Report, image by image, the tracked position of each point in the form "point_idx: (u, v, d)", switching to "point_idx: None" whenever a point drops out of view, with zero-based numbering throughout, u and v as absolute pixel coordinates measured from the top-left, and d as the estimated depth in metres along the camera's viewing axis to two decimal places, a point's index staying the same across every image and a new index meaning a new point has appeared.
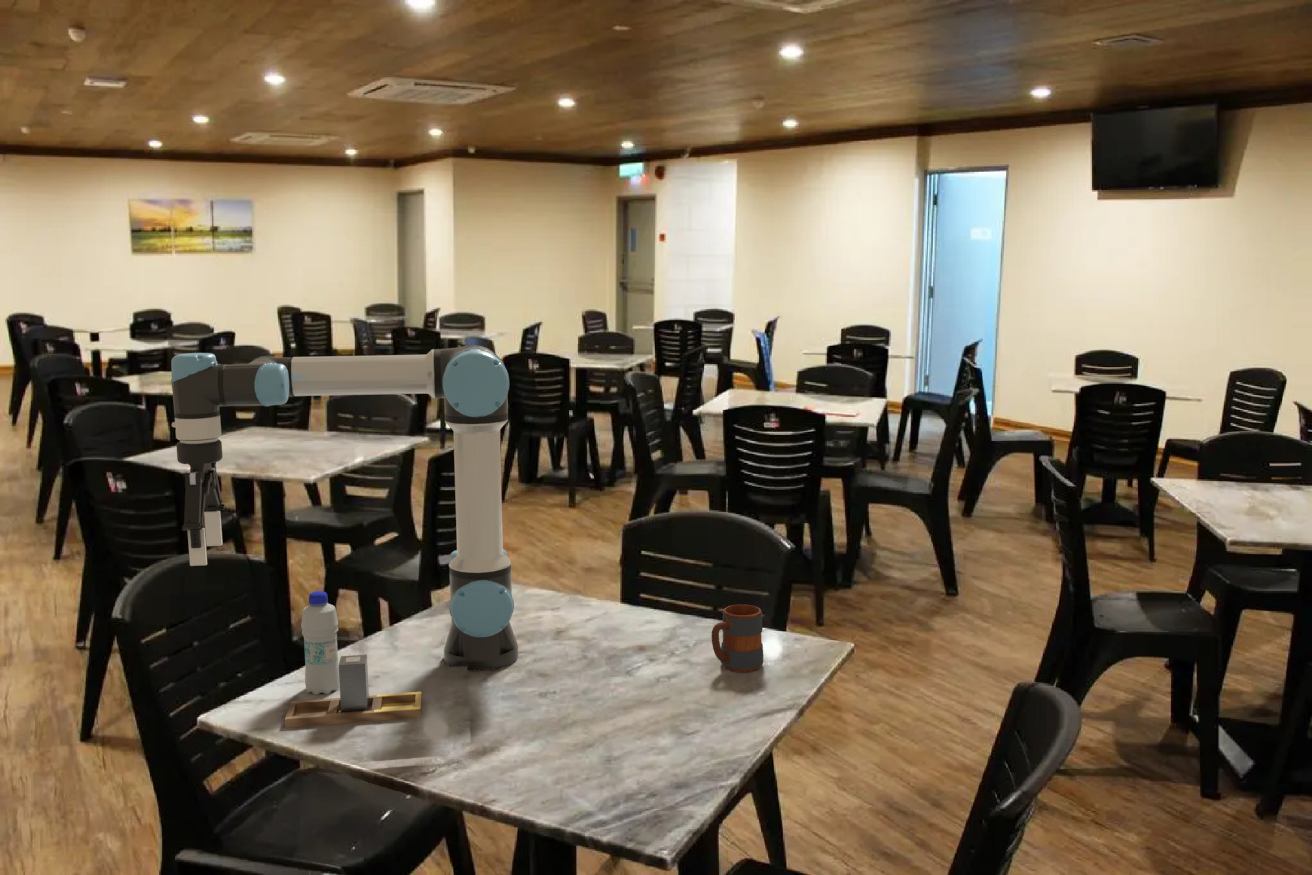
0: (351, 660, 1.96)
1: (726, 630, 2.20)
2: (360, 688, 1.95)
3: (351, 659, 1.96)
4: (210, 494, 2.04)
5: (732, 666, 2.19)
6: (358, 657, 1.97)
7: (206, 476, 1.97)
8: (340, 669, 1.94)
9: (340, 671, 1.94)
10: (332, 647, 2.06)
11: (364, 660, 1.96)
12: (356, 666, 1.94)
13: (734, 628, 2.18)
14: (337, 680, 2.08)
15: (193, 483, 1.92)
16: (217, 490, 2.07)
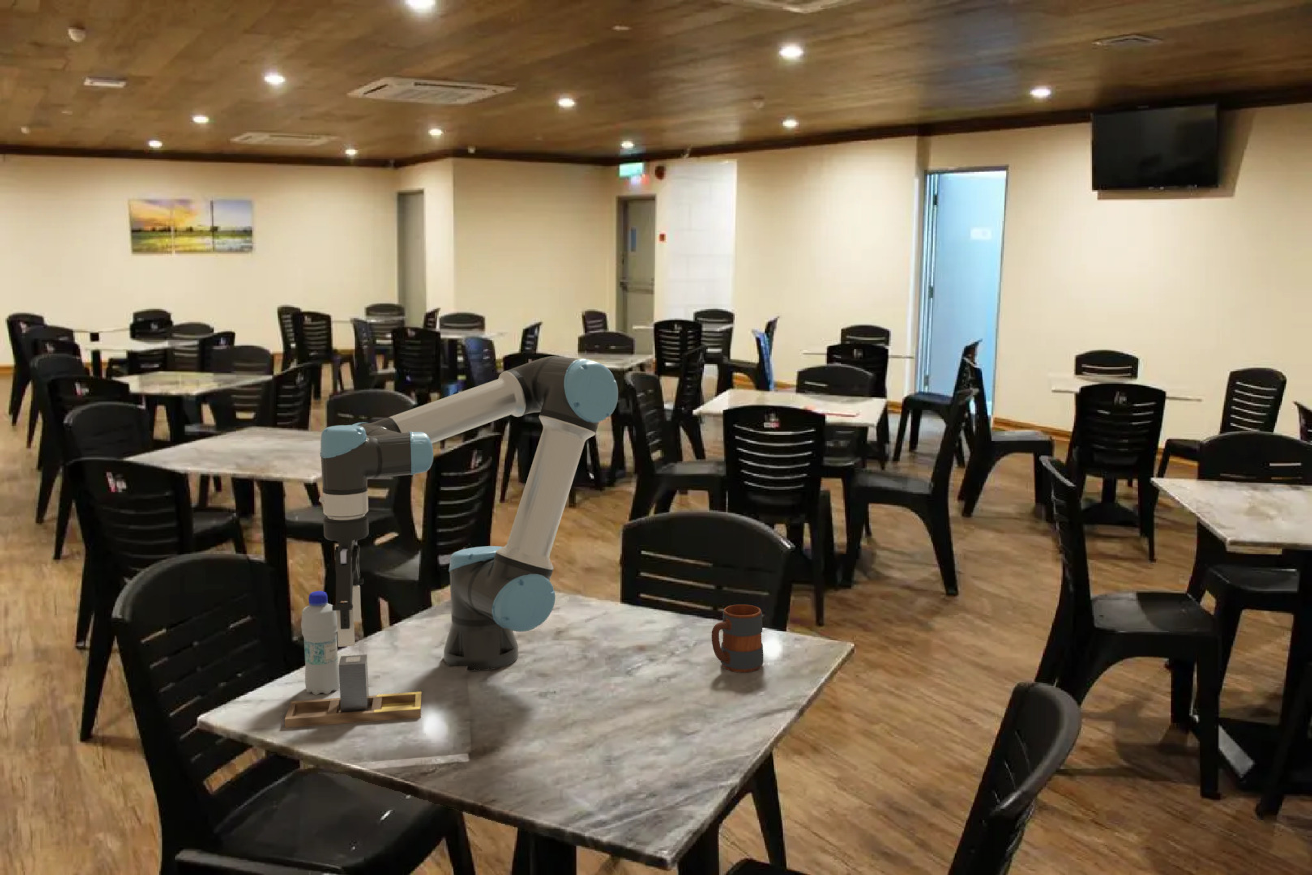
0: (351, 660, 1.96)
1: (726, 630, 2.20)
2: (360, 688, 1.95)
3: (351, 659, 1.96)
4: None
5: (732, 666, 2.19)
6: (358, 657, 1.97)
7: (353, 552, 1.91)
8: (340, 669, 1.94)
9: (340, 671, 1.94)
10: (331, 647, 2.06)
11: (364, 660, 1.96)
12: (356, 666, 1.94)
13: (734, 628, 2.18)
14: (337, 680, 2.08)
15: (344, 562, 1.86)
16: (357, 564, 2.01)
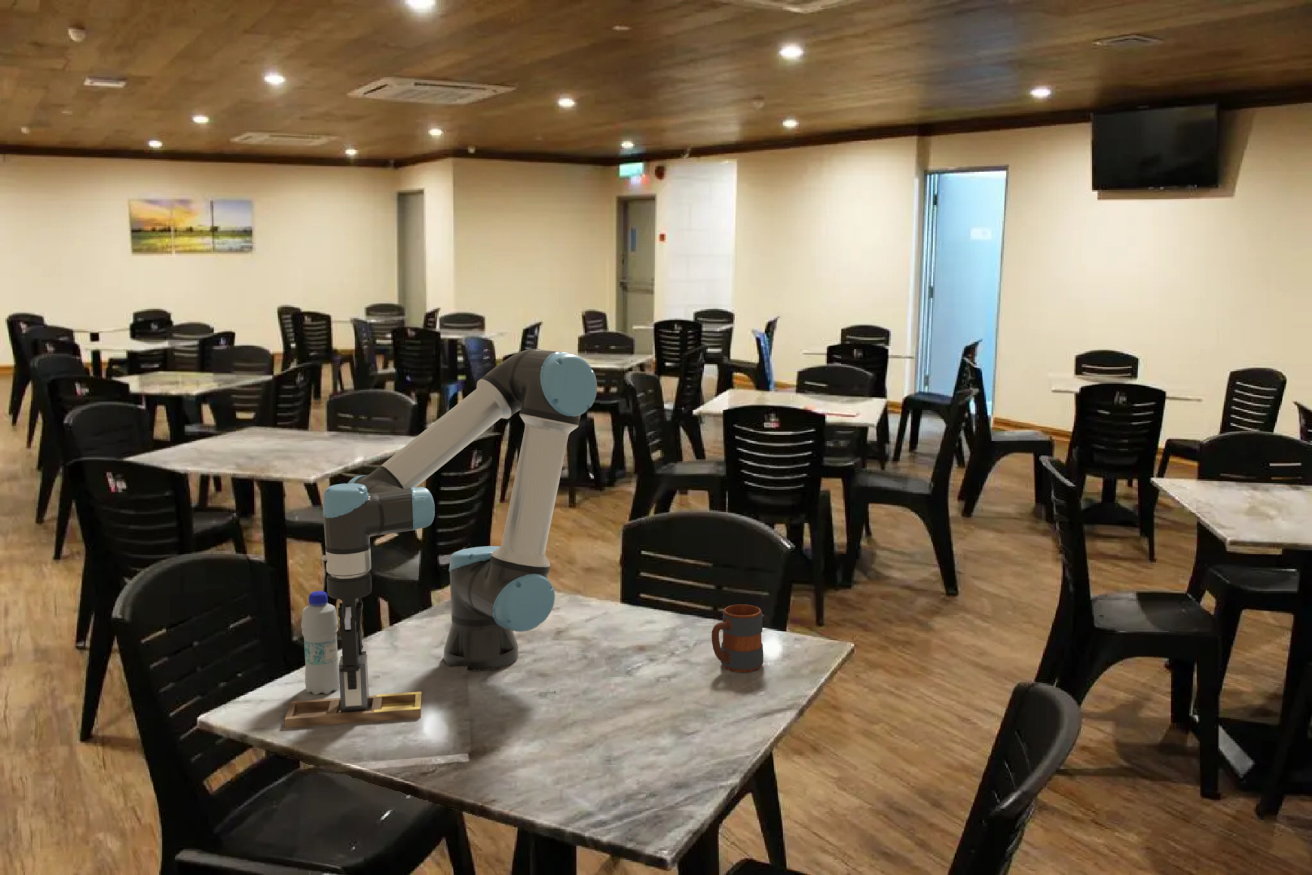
0: None
1: (726, 630, 2.20)
2: None
3: None
4: None
5: (732, 666, 2.19)
6: None
7: (356, 611, 1.93)
8: None
9: None
10: (332, 647, 2.06)
11: (364, 660, 1.96)
12: None
13: (734, 628, 2.18)
14: (337, 680, 2.08)
15: (348, 628, 1.89)
16: (360, 631, 2.00)
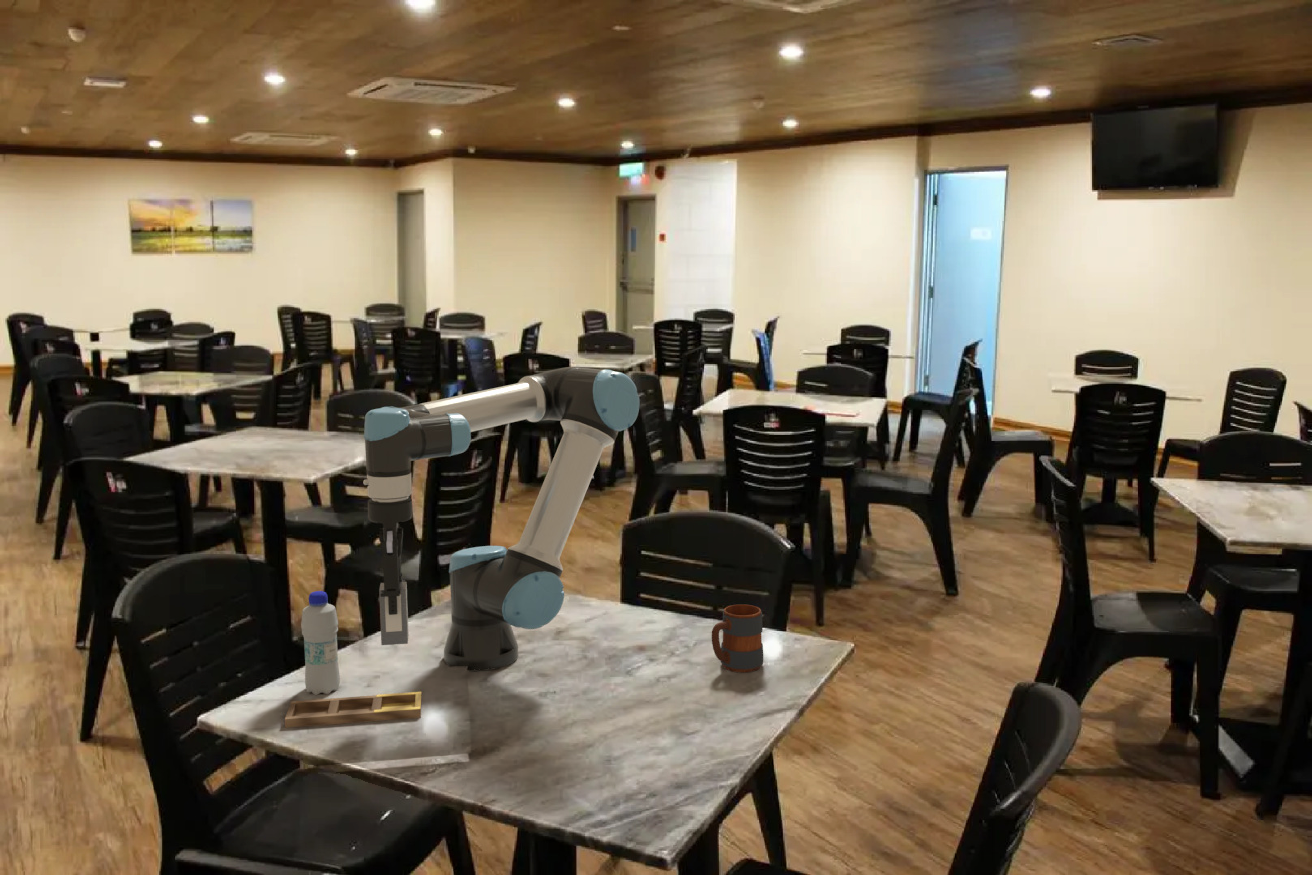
0: None
1: (726, 630, 2.20)
2: None
3: None
4: None
5: (732, 666, 2.19)
6: None
7: (397, 536, 1.92)
8: (380, 594, 1.93)
9: (380, 596, 1.93)
10: (332, 647, 2.06)
11: (404, 586, 1.95)
12: None
13: (734, 628, 2.18)
14: (337, 680, 2.08)
15: (390, 552, 1.88)
16: (399, 558, 2.00)
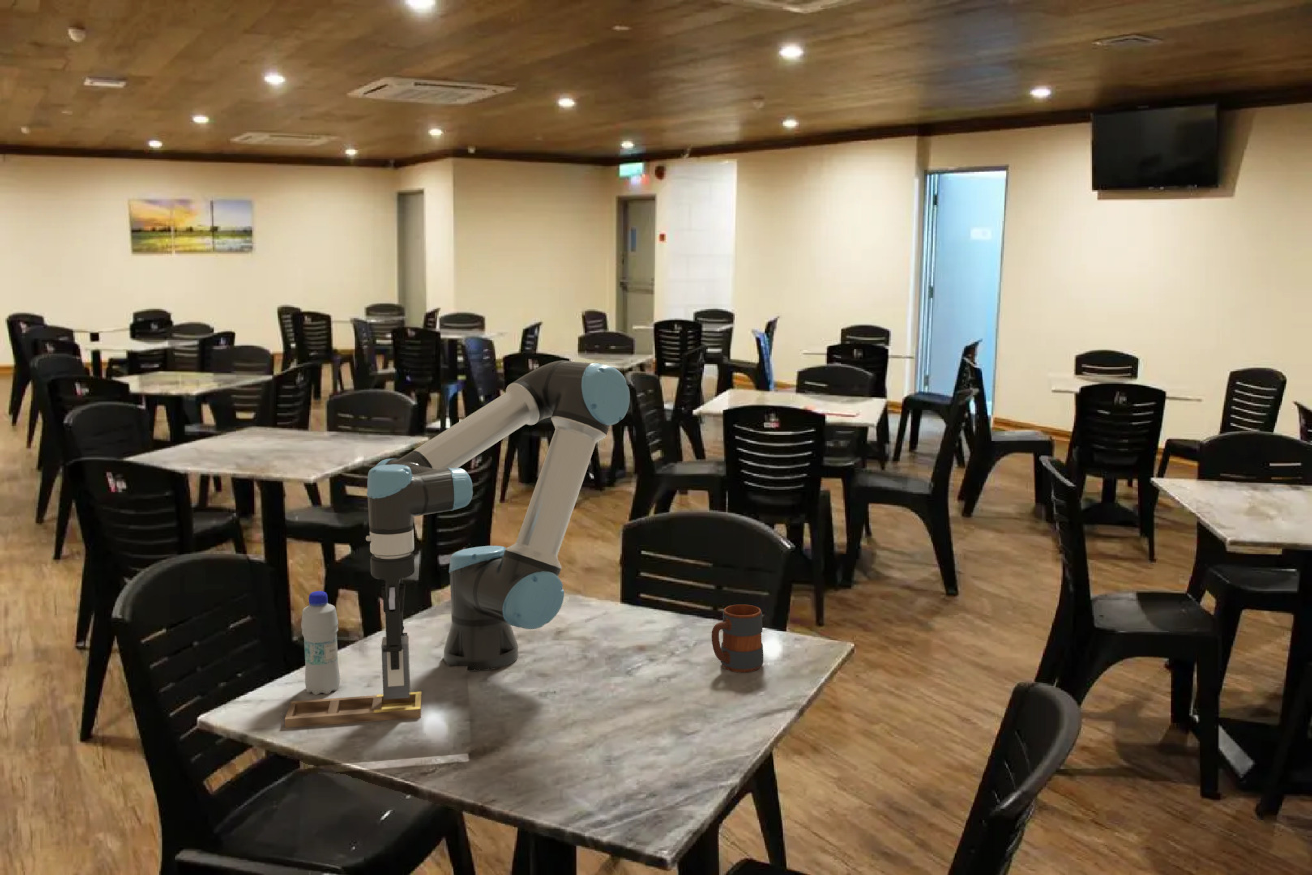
0: None
1: (726, 630, 2.20)
2: None
3: None
4: None
5: (732, 666, 2.19)
6: None
7: (400, 592, 1.94)
8: None
9: None
10: (332, 647, 2.06)
11: (406, 641, 1.97)
12: None
13: (734, 628, 2.18)
14: (337, 680, 2.08)
15: (392, 608, 1.90)
16: (401, 612, 2.01)
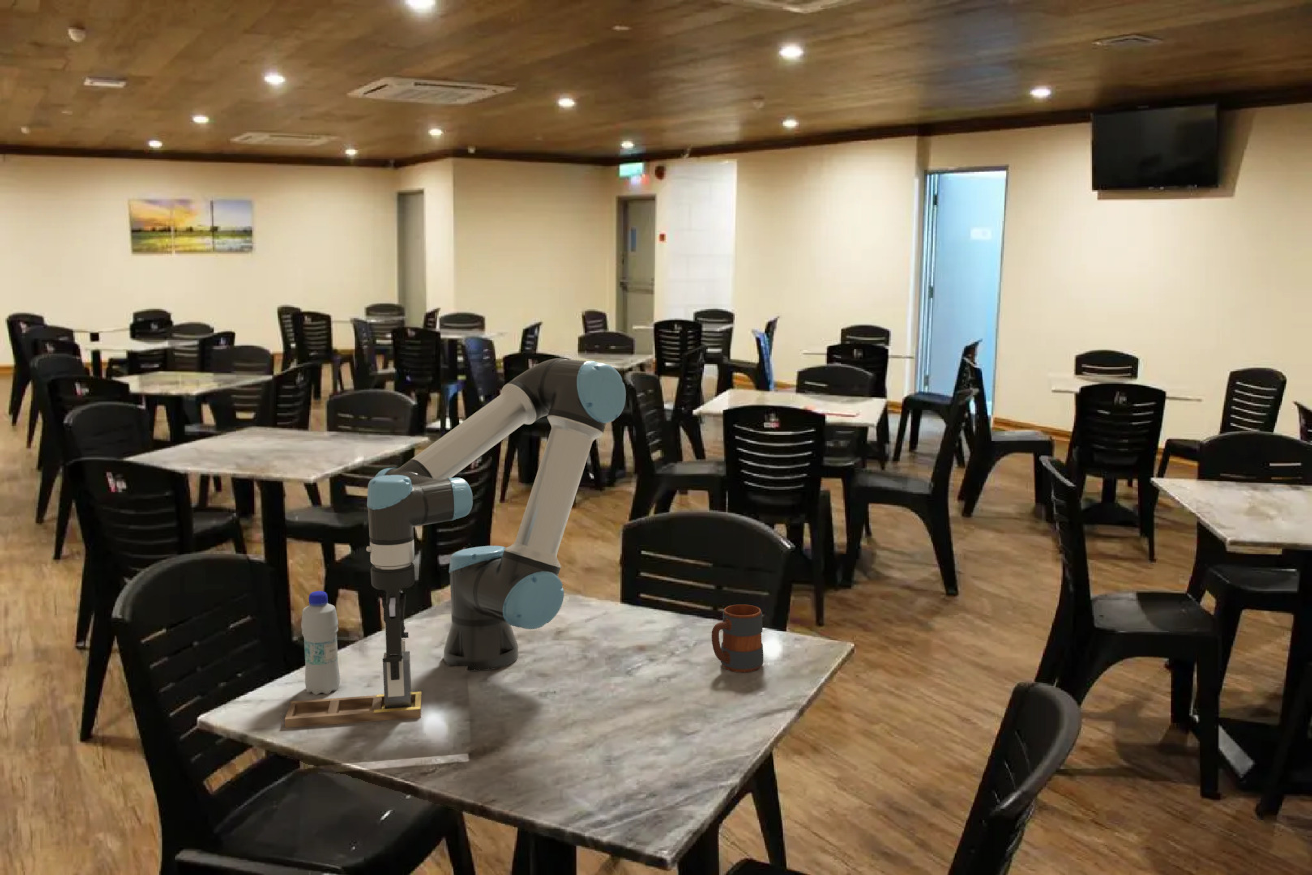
0: None
1: (726, 630, 2.20)
2: None
3: None
4: None
5: (732, 666, 2.19)
6: None
7: (400, 601, 1.94)
8: (384, 665, 1.95)
9: (384, 667, 1.95)
10: (332, 647, 2.06)
11: (407, 657, 1.97)
12: None
13: (734, 628, 2.18)
14: (337, 680, 2.08)
15: (393, 615, 1.89)
16: None
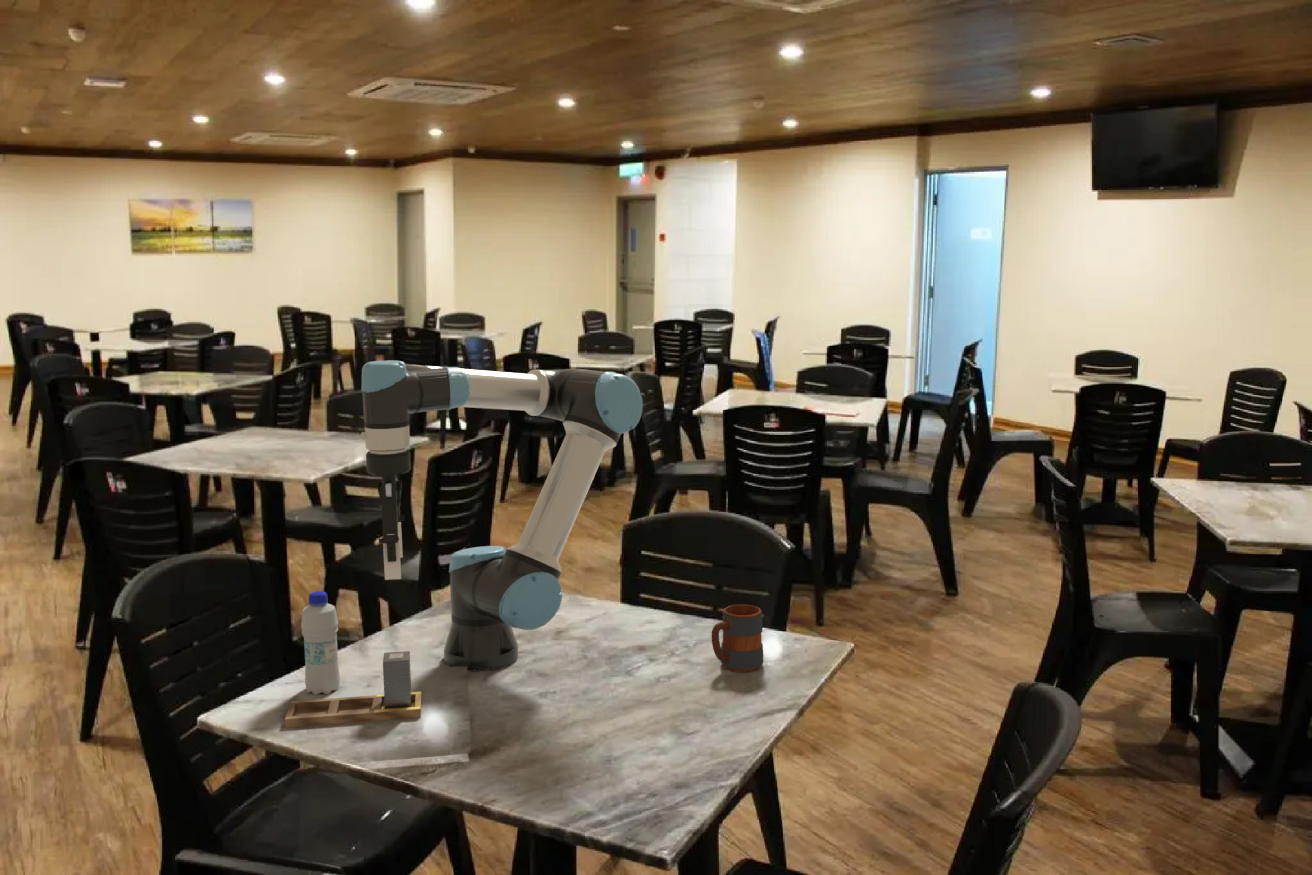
0: (395, 656, 1.97)
1: (726, 630, 2.20)
2: (403, 685, 1.96)
3: (395, 655, 1.98)
4: None
5: (732, 666, 2.19)
6: (401, 654, 1.98)
7: (396, 487, 1.92)
8: (384, 665, 1.95)
9: (384, 667, 1.95)
10: (332, 647, 2.06)
11: (407, 657, 1.97)
12: (399, 662, 1.95)
13: (734, 628, 2.18)
14: (337, 680, 2.08)
15: (389, 495, 1.87)
16: None
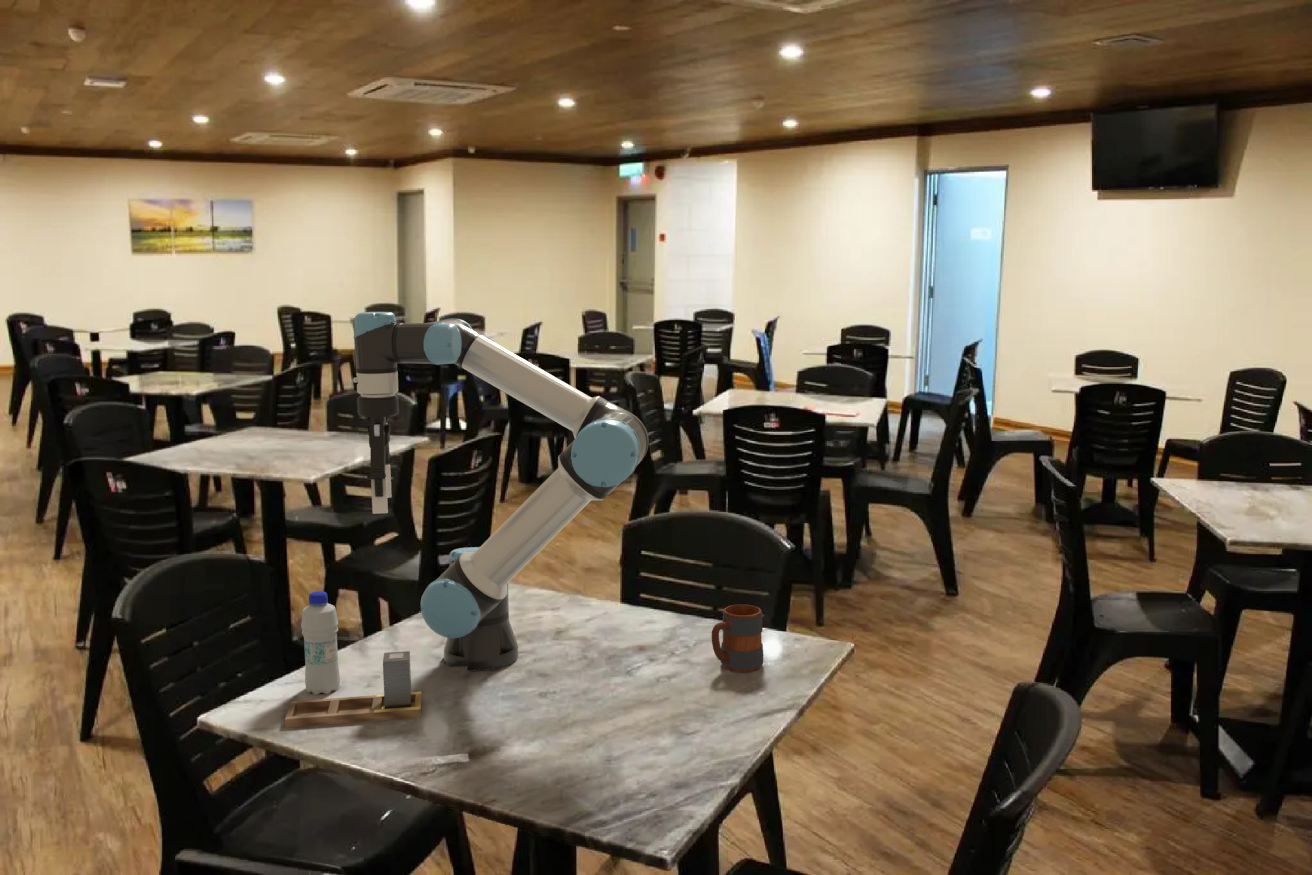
0: (395, 656, 1.97)
1: (726, 630, 2.20)
2: (403, 685, 1.96)
3: (395, 655, 1.98)
4: None
5: (732, 666, 2.19)
6: (401, 654, 1.98)
7: (385, 429, 2.07)
8: (384, 665, 1.95)
9: (384, 667, 1.95)
10: (332, 647, 2.06)
11: (407, 657, 1.97)
12: (399, 662, 1.95)
13: (734, 628, 2.18)
14: (337, 680, 2.08)
15: (377, 434, 2.02)
16: (387, 444, 2.17)
